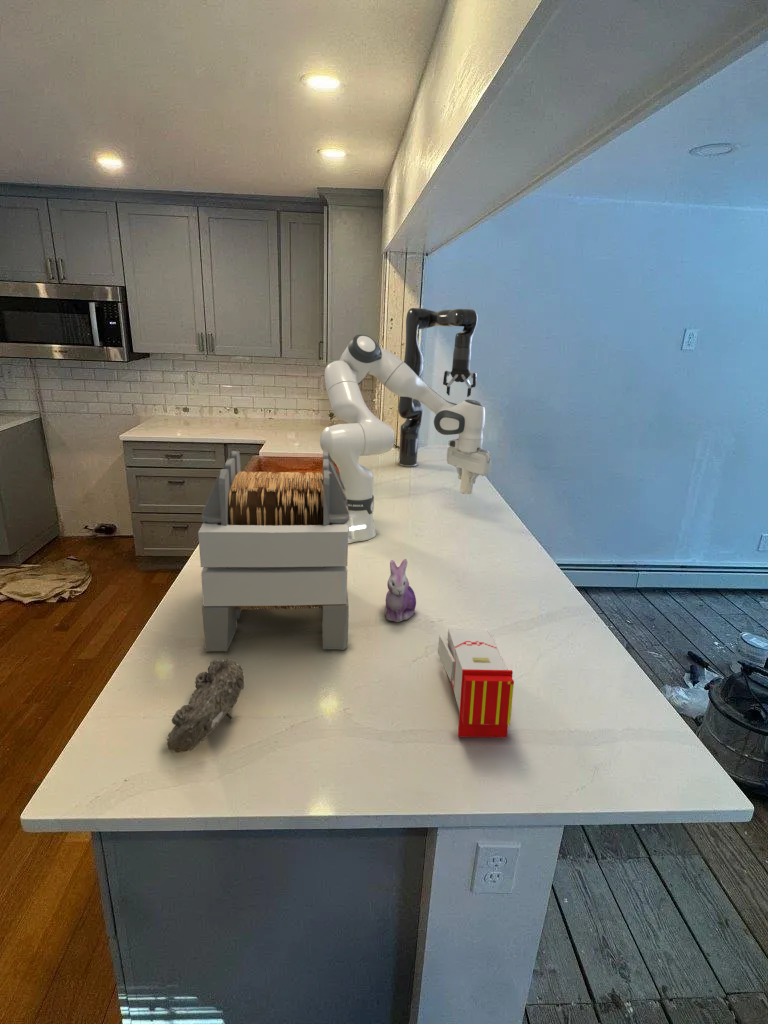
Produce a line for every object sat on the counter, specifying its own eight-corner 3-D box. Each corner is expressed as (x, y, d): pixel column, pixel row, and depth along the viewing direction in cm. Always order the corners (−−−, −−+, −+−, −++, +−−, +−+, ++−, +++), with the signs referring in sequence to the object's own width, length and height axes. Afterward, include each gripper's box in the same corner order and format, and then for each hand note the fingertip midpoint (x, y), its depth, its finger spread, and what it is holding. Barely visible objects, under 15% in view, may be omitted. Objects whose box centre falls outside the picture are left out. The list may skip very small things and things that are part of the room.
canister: (459, 493, 212) (461, 468, 209) (460, 489, 217) (462, 465, 213) (471, 494, 212) (474, 469, 208) (472, 491, 216) (474, 466, 213)
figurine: (392, 627, 141) (395, 572, 136) (374, 608, 149) (376, 556, 144) (425, 619, 145) (429, 566, 140) (405, 601, 154) (408, 550, 149)
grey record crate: (225, 584, 158) (217, 441, 145) (342, 583, 162) (345, 443, 148) (202, 654, 127) (189, 479, 113) (348, 650, 131) (352, 481, 117)
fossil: (192, 660, 117) (244, 628, 112) (224, 691, 120) (276, 661, 115) (142, 746, 98) (202, 712, 93) (182, 779, 101) (242, 748, 96)
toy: (488, 613, 130) (523, 677, 101) (484, 667, 133) (517, 744, 104) (435, 612, 130) (455, 676, 101) (432, 666, 133) (451, 743, 103)
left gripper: (496, 450, 202) (492, 487, 206) (457, 438, 217) (454, 473, 222) (484, 452, 198) (480, 489, 203) (445, 440, 214) (442, 475, 218)
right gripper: (444, 357, 243) (441, 395, 248) (477, 359, 239) (473, 398, 245) (446, 356, 249) (443, 393, 255) (479, 358, 246) (475, 396, 252)
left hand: (466, 481), depth 212 cm, fingers closed on canister, 4 cm apart
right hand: (458, 395), depth 250 cm, fingers open, 8 cm apart
